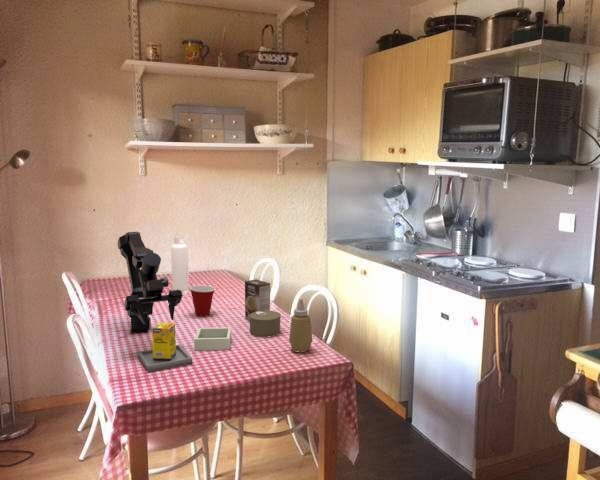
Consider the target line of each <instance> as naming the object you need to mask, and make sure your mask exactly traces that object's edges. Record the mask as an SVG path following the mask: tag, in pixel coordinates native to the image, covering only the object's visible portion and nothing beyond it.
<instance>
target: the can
mask: <svg viewBox="0 0 600 480" xmlns="http://www.w3.org/2000/svg"><path fill="white" fill-rule="evenodd" d="M281 315H282V314H281V313H280V312H277V311H276V310H275V311H274V310H270V311H256V312H253V313H251V314H250V315H249V317H250V321H249V333H250V335H251V336H254V337H257V336H258V337H259V338H269V337H268V336H272V337H274V336H273V335H276V336H278V335H280V334H281ZM279 333H280V334H279ZM277 334H278V335H277ZM258 337H257V338H258Z"/></svg>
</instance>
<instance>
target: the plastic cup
mask: <svg viewBox="0 0 600 480" xmlns="http://www.w3.org/2000/svg"><path fill="white" fill-rule="evenodd" d="M189 291H190V295H191V298H192V303H193V304H192V305H193V307H194V313H195V316H197V317H199V318H200V317H208V316H210V314H211V307H212V302H213V296H214V294H215V293H214V292H215V291H216V287H215V286H211V285H200V284H198V285H192V286H189Z"/></svg>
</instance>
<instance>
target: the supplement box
mask: <svg viewBox="0 0 600 480" xmlns="http://www.w3.org/2000/svg"><path fill="white" fill-rule="evenodd" d="M151 336H152V337H151V338H152V349H153V360H159V361H171V359H172V358H173V357H174V356H175V355H176V345H177V344H176V323H175V322H158V323H156V325H154V326H153V327H151Z"/></svg>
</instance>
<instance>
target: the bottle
mask: <svg viewBox="0 0 600 480" xmlns="http://www.w3.org/2000/svg"><path fill="white" fill-rule="evenodd" d="M173 242H174V243H173V244H172V245H171V247H170V255H171V256H170V259H171V260H170V261H171V263H170V264H171V287H172V290H180V291H182V295H183V296H184V295H187V294H189V293H190V282H189V280H190V279H189V278H190V277H189V275H190V274H189V249H188V248H189V247H188V245H187V244H186V243H185V236H182V235H177V236H173Z"/></svg>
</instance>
